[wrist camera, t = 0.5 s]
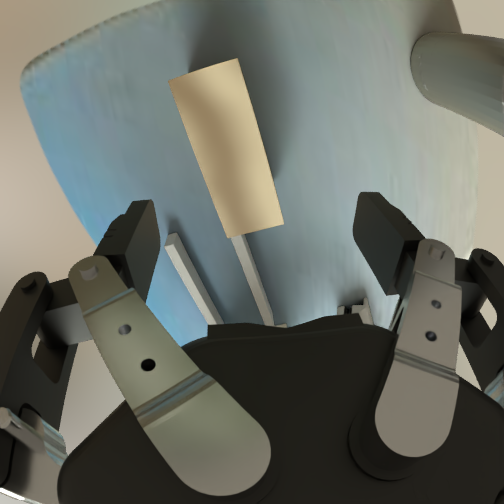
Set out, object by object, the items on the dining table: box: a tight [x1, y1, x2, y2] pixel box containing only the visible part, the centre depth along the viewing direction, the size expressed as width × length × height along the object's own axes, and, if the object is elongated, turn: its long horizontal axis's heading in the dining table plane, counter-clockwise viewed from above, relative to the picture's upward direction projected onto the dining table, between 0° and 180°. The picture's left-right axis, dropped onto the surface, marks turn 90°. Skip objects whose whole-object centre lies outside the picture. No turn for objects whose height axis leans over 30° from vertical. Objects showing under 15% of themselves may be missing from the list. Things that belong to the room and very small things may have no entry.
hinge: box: [337, 298, 373, 325], centre depth 47 cm, size 17×5×10 cm, turn 25°
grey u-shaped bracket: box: [164, 232, 287, 328], centre depth 34 cm, size 12×26×22 cm, turn 15°
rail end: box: [168, 58, 284, 238], centre depth 25 cm, size 5×15×9 cm, turn 15°
